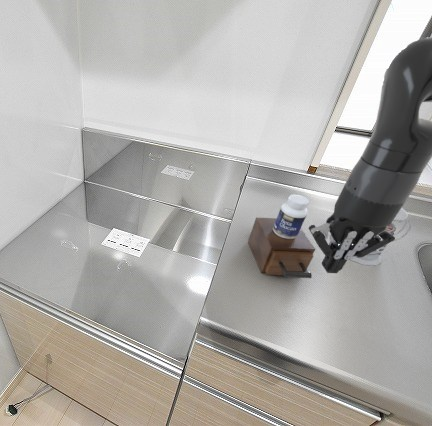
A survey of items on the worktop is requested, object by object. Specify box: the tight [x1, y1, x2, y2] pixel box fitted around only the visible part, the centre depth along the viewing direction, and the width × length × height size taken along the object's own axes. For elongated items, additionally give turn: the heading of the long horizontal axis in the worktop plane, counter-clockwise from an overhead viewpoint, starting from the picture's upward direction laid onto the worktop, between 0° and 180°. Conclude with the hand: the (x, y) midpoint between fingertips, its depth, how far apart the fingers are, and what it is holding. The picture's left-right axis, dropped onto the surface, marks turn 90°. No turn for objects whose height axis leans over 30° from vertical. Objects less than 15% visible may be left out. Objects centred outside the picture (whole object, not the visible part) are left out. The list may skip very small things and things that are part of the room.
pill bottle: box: [273, 194, 310, 239], centre depth 68 cm, size 5×5×10 cm
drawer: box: [265, 250, 314, 279], centre depth 71 cm, size 15×8×7 cm, turn 175°
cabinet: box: [247, 217, 316, 274], centre depth 74 cm, size 12×10×9 cm
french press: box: [349, 207, 412, 266], centre depth 70 cm, size 10×12×25 cm
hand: (329, 269), depth 54 cm, fingers closed
